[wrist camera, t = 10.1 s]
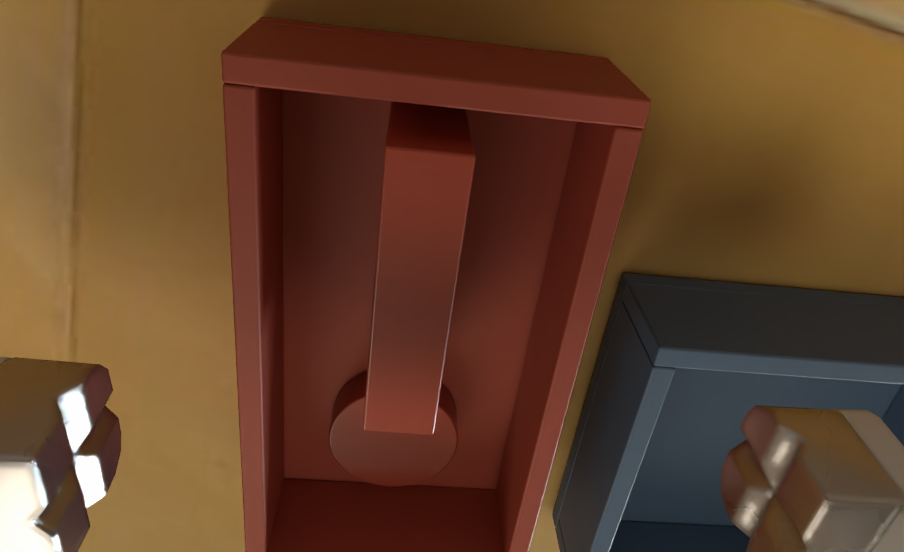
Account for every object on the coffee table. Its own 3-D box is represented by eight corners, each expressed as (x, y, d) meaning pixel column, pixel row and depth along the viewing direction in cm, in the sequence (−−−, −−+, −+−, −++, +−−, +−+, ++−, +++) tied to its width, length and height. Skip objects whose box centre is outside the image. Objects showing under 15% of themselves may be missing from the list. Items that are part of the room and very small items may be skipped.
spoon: (348, 94, 16) (333, 140, 13) (507, 112, 16) (526, 161, 13) (330, 454, 22) (317, 539, 19) (448, 461, 22) (452, 545, 19)
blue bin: (621, 271, 19) (660, 347, 16) (950, 300, 20) (1046, 377, 17) (551, 514, 24) (570, 607, 21) (816, 528, 25) (871, 618, 22)
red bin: (260, 15, 15) (219, 50, 12) (609, 57, 16) (653, 100, 13) (269, 475, 23) (246, 569, 20) (508, 488, 24) (521, 580, 20)
